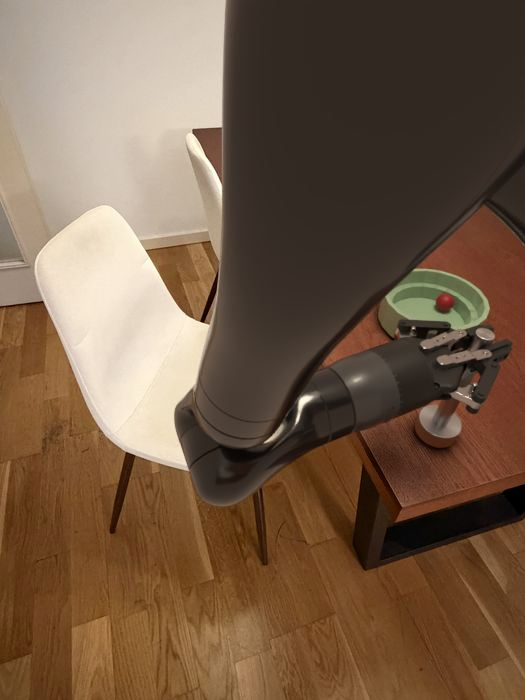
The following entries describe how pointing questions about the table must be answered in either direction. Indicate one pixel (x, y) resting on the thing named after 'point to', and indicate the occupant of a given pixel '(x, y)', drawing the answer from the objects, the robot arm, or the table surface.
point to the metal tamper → (448, 405)
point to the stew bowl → (433, 301)
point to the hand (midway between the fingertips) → (497, 339)
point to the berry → (444, 302)
